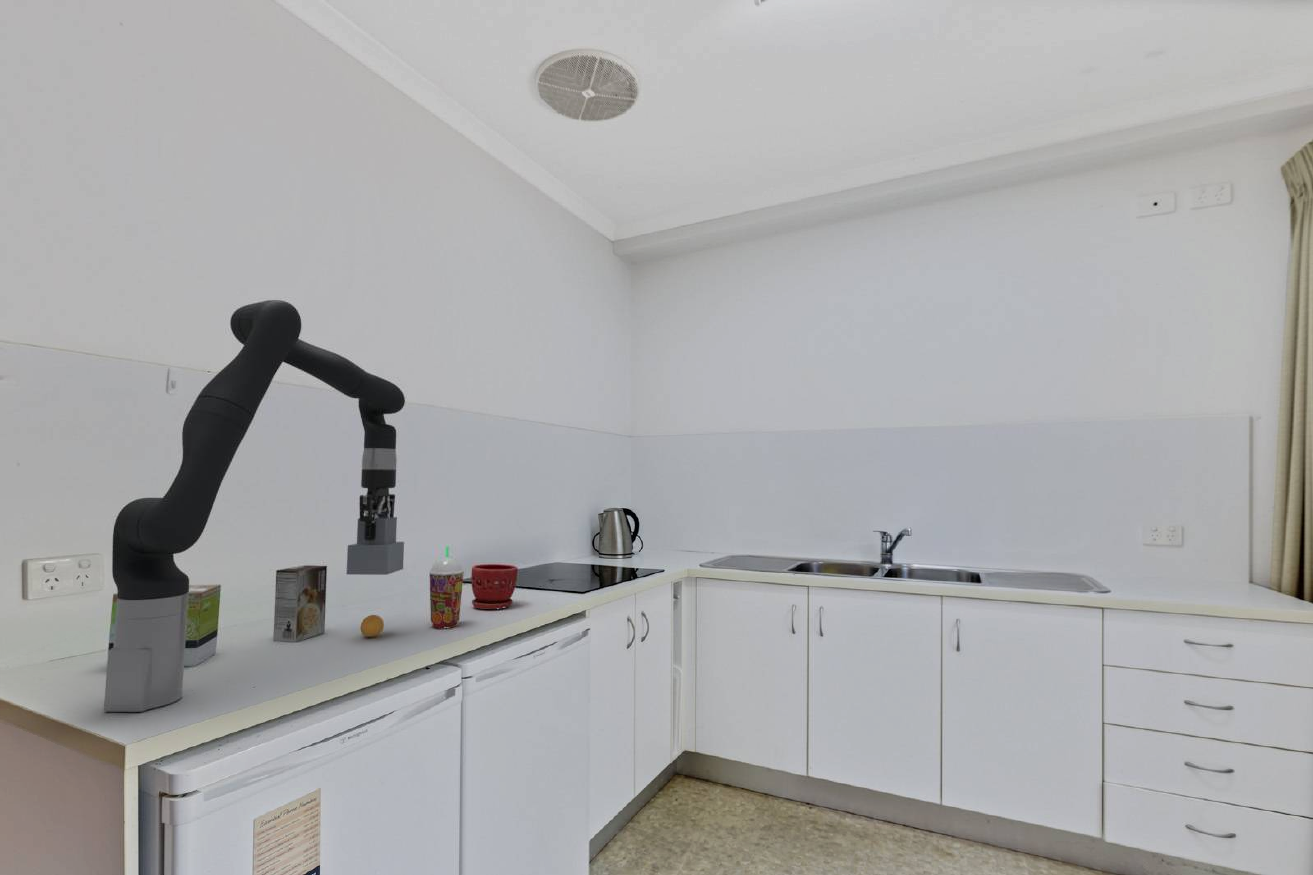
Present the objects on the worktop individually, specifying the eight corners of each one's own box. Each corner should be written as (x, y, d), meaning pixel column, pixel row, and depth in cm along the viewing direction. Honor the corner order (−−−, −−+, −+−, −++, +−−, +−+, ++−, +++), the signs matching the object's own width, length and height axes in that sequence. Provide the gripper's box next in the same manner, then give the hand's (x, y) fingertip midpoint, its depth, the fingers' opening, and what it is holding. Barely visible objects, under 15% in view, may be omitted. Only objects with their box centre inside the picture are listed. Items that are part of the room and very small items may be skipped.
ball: (385, 637, 148) (376, 637, 143) (364, 636, 148) (355, 637, 143) (388, 615, 149) (380, 615, 144) (367, 614, 149) (358, 614, 144)
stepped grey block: (386, 574, 142) (389, 519, 143) (346, 574, 142) (348, 518, 143) (403, 569, 151) (404, 517, 152) (365, 568, 151) (367, 516, 152)
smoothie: (420, 628, 154) (423, 547, 156) (439, 621, 162) (442, 544, 164) (450, 631, 152) (453, 548, 154) (468, 623, 160) (470, 545, 162)
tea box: (104, 672, 117) (110, 593, 118) (133, 658, 127) (138, 584, 128) (196, 667, 121) (201, 590, 123) (217, 653, 131) (222, 582, 132)
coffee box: (302, 631, 150) (305, 564, 152) (325, 633, 149) (328, 565, 150) (271, 641, 141) (275, 569, 143) (295, 642, 140) (299, 570, 141)
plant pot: (483, 613, 173) (484, 570, 174) (462, 606, 183) (463, 565, 184) (524, 607, 182) (525, 566, 183) (502, 601, 192) (503, 562, 193)
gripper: (381, 467, 141) (379, 541, 140) (406, 468, 155) (404, 536, 154) (348, 467, 141) (345, 541, 140) (376, 468, 155) (374, 536, 154)
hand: (376, 538), depth 147 cm, fingers closed on stepped grey block, 6 cm apart
